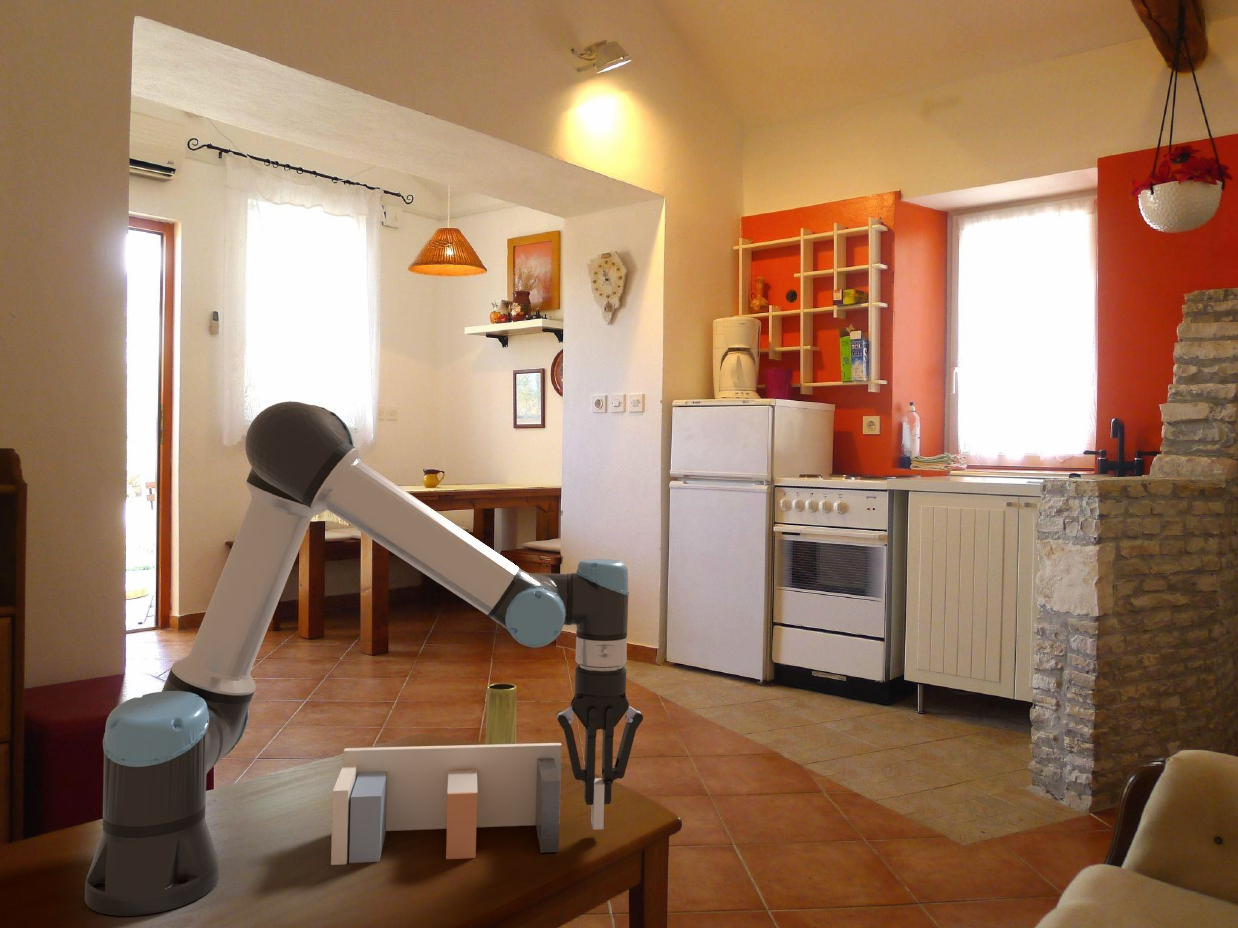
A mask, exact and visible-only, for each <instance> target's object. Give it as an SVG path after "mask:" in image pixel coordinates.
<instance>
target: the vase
mask: <svg viewBox="0 0 1238 928" xmlns="http://www.w3.org/2000/svg"><path fill="white" fill-rule="evenodd" d="M517 687H518V686H517V685H516V684H515V683H514V684H513V683H509V682H495V683H491V684H488V685H487V687H486V714H485V715H486V717H485V718H486V720H485V721H486V722H485V724H486V725H485V739H484V741H485V742H484V745H496V744H517V689H518V688H517Z"/></svg>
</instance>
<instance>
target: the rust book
mask: <svg viewBox="0 0 1238 928" xmlns="http://www.w3.org/2000/svg"><path fill="white" fill-rule="evenodd" d="M447 795H448V805H447V829H446V847H445V848H446V849H445V851H446V853H445V859H446V860H457V859H458V860H459V859H476V856H477V855H476V852H477V827H476V819H477V770H476V769H471V770H449V775H448V793H447Z"/></svg>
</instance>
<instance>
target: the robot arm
mask: <svg viewBox="0 0 1238 928" xmlns="http://www.w3.org/2000/svg"><path fill="white" fill-rule="evenodd" d="M244 448H245V454H246V458H247V460H248V463H249V464H250V466H251V468H250V471H249V473H248V476H247V478H246V481H245V484H246V486H247V488H248V491H249V493H250V495H251V499H250V501H249V504H248V507H247V510H246V511H245V515H244V517H243V518H242V521H241V524H240V526H239V528H238V532H237V534H236V537H235V539H234V541H233V544H232V546H231V549H230V551H229V554H228V556H227V559H226V562H225V564H224V567H223V569H222V572H221V574H220V576H219V579H218V582H217V584H216V586H215V590H214V592H213V593H212V596H211V599H210V601H209V603H208V607H207V609H206V611H205V614H204V616H203V619H202V622H201V624H200V626H199V629H198V631H197V634H196V636H195V639H194V642H193V643H192V645H191V649H190V652H189V653H188V655H187V656H185V657H183V658H181V659H179V660H176V661H174V663H172V665H171V667H170V670H169V672H168V675H167V678H166V680H165V682H164V684H163V687H162V690H161V691H156V692H150V693H145V694H142V696H141V697H140V696H139V697H137V696H136V697H132V698H129V699H127V700H126V701H123V702H122V703H120V704H119V705H117V706H116V707H114V709H112V710H111V712H110V713H109V715H108V716H107V718H106V723H105V730H104V731H105V732H104V733H103V738H102V748H103V779H102V780H103V785H102V788H103V789H102V790H103V791H102V796H103V797H102V833H101V837H100V840H99V842H98V845H97V847H96V850H95V854H94V856H93V859H92V861H91V865H90V867H89V869H88V873H87V875H86V877H85V881H84V904H86V906H87V907H88V908H89V909H91V911H94V912H96V913H99V914H104V915H110V916H117V917H118V916H120V917H125V916H126V917H129V916H130V917H131V916H143V915H150V914H157V913H160V912H161V913H162V912H166V911H170V910H173V909H177V908H179V907H182V906H186V905H188V904H190V903H192V902H195V901H197V900H199V899H201V898H202V897H204V896H205V895H208V893H209V892H211V891H212V890H213V889H214V888H215V887H216V885H217V884H218V882H219V877H220V875H219V874H220V873H219V872H220V860H219V857H218V854H217V851H216V848H215V845H214V841H213V839H212V836H211V833H210V831H209V827H208V824H207V821H206V820H207V819H206V807H207V806H206V803H207V802H206V801H207V797H206V795H207V775H208V773H209V772H210V771H211V770H212V769H213V768H214V767H215V765H216V764H218V762H219V761H221V759H223V758H224V757H226V756H227V755H228V754H230V753H231V752H232V751H233V750H234V748H235V747H236V745H238V744H239V742H240V741H241V739H242V738H243V735H244V733H245V731H246V729H247V726H248V722H249V716H250V705H251V702H252V699H253V696H254V693H255V691H256V688H257V685H256V681H255V680H254V678H253V676H252V675H251V672H252V669H253V667H254V664H255V661H256V659H257V656H258V655H259V652H260V650H261V647H262V645H263V641H264V639H265V637H266V634H267V631H268V629H269V626H270V625H271V621H272V619H273V616H274V614H275V611H276V609H277V606H278V603H279V601H280V599H281V596H282V594H283V591H284V589H285V587H286V584H287V581H288V579H289V576H290V574H291V571H292V569H293V566H294V564H295V561H296V559H297V556H298V553H299V551H300V548H301V546H302V543H303V541H304V539H305V536H306V535H307V531H308V528H309V526H310V523H311V521H312V519H313V518H314V517H316V516H318V515H320V514H322V513H324V512H327V511H328V512H330V513H331V514H333V515H335V516H336V517H338V518H339V519H341V520H342V521H343V522H345V523H346V524H349V525H350V526H351V527H353V528H354V529H356V530H357V531H359V532H360V533H362V534H363V535H365V536H366V537H369V538H370V539H371V540H373V541H374V542H376V543H378V544H379V545H380V546H382V547H384V549H386V550H387V551H389V552H391V553H392V554H394V555H396V556H397V557H398V558H400V559H402V560H403V561H404V562H406V563H407V564H409V565H411V566H412V567H413V568H415V569H416V570H418V571H420V572H422V574H424V575H426V576H427V577H429V578H430V579H432V580H433V581H435V582H436V583H438V584H439V585H441V586H443V587H444V588H446V589H447V590H448V591H450V592H452V593H453V594H455V595H456V596H458V597H459V598H461V599H463V600H464V601H466V602H467V603H468V604H470V605H472V606H473V607H474V608H476V609H478V610H479V611H480V612H482V613H483V614H485V615H486V616H487V617H489V618H490V619H492V621H495V623H498V624H499V625H500V626H502V627H503V628H505V629H506V630H507V631H508V633H509V634H510V635H511V637H512V638H513V639H514V640H515V641H517V642H518V643H519V644H520V645H523V646H525V647H528V648H541V647H545V646H547V645H549V644H550V643H552V642H554V641H556V639H557V638H559V636H560V634H561V632H562V631H563V628H564V626H573V625H575V627H576V631H575V632H576V636H575V637H576V638H575V662H576V663H577V664H578V665H577V666H576V667H575V669H574V671H575V672H574V677H575V678H574V695H573V698H572V700H571V701H570V702H571V703H570V705H569V707H567V708H566V709H564V710H563V711H562V710H559V711H557V712H556V714H555V716H556V719H557V722H558V723H559V725H560V727H561V728H562V730H563V733H564V738H565V742H566V748H567V751H568V752H567V753H568V757H569V762H570V764H571V765H570V767H571V771H572V774H573V776H574V779H575V780H577V781H583V783H584V792H583V796H584V802H585V803H586V806H590V824H591V827H592V829H593V830H604V822H605V821H604V819H605V818H604V815H605V814H604V813H605V805H610V804H611V802H612V784H613V782H614V781H615V780H618V779H623V778H624V777H625V774H626V771H627V767H628V762H629V759H630V755H631V751H632V747H633V743H634V739H635V735H636V733H637V729H638V728H639V727H640V725H641V723H642V722H643V720H644V715H643V714H642V713H641V711H640V710H639V709H635V708H633V707H632V706H630V703H629V699H627V669H626V667H625V666H624V665H626V663H627V662H628V660H627V659H628V658H627V651H628V649H627V648H628V642H627V641H628V621H629V619H628V616H629V615H628V614H629V595H630V592H629V572H628V571H629V570H628V566H627V565H626V564H625V563H624V562H623V561H620V560H617V559H607V558H605V559H604V558H594V559H591V558H590V559H587V558H586V559H583V560H580V561H579V562H578V564H577V569H576V572H571V573H546V572H545V573H541V572H539V573H538V572H537V573H536V572H526V571H525V570H523V569H521V568H520V567H519V566H517V565H515V564H514V563H513V562H511V561H510V560H508V559H507V558H505V557H504V556H503V555H501V554H499V553H498V552H496V551H495V550H493V549H492V548H491V547H489V546H487V545H486V544H485V543H483V542H482V541H480V540H479V539H477V538H475V537H474V536H473V535H471V534H470V533H469V532H467V531H466V530H464V529H463V528H461V527H460V526H459V525H457V524H455V523H453V522H452V521H451V520H449V519H447V518H446V517H444V515H441V514H440V513H439V512H437V511H436V510H434V509H432V508H431V507H430V506H428V505H427V504H425V503H424V502H422V501H421V500H419V499H418V498H416V497H415V496H414V495H412V494H411V493H409V492H407V491H406V490H405V489H403V488H402V487H400V486H398V485H397V484H396V483H394V482H393V481H391V480H390V479H389V478H387V477H385V476H384V475H383V474H381V473H379V472H378V471H377V470H375V469H374V468H372V467H370V466H369V465H367V464H366V463H365V462H363V461H362V459H361V458H360V453H359V449H358V448H357V447H356V446H355V444H354V439H353V434H352V432H351V430H350V428H349V426H348V425H347V424H346V422H344V420H343V419H342V418H341V417H340V416H338V414H336V413H335V412H334V411H331V410H328V409H327V408H326V407H321V406H319V405H316V404H308V403H304V402H300V401H281V402H278V403H275V404H272V405H270V406H267V407H266V408H264V409H263V410H261V411H260V412H259V413H258V414H257V415H256V416H255V418H254V419H253V420H252V422H251V423H250V425H249V427H248V429H247V432H246V435H245V447H244ZM574 715H575V716H576V717H577V718H578V720H579V721H580V723H581V725H583V727H584V732H585V739H584V740H585V742H584V743H585V744H584V745H585V746H584V748H585V749H584V769H583V768H582V765H581V762H580V757H579V752H578V749H577V744H576V739H575V734H574V731H573V728H572V725H573V724H574ZM624 716H625V718H624V719H625V721H626V722H625V724H624V728H623V733H622V736H621V739H620V744H619V747H618V751H617V755H616V759H615V763H614V762H613V761H614V760H613V759H614V757H613V756H614V737H615V727H616V726H618V724H619V722H620V721H621V720H622V718H623V717H624ZM598 730H601V731H602V743H601V745H602V746H601V748H602V750H601V754H602V755H601V777H599V778H596V777H595V775H596V774H595V773H596V751H597V750H596V746H597V744H596V743H597V731H598ZM613 763H614V764H613ZM613 765H614V767H613Z"/></svg>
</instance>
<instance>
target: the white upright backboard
mask: <svg viewBox="0 0 1238 928" xmlns="http://www.w3.org/2000/svg"><path fill="white" fill-rule="evenodd" d="M562 745H563V744H562V742H547V743H546V742H545V743H544V742H542V743H541V742H539V743H516V744H496V745H485V744H467V745H466V744H464V745H463V744H461V745H457V744H456V745H427V746H426V745H424V746H418V745H417V746H383V747H382V746H381V747H346V748H344V750H343V762H342V763H343V764H342V767H341V770H340V772H339V775H338V776H337V779H336V782H335V785H334V786H333V788H332V809H331V811H332V814H331V816H332V817H331V823H332V824H331V847H330V848H331V849H330V850H331V853H330V854H331V855H330V859H331V860H330V866H336V865H337V866H338V865H339V866H340V865H347V864H348V862H349V849H350V808H351V795H352V792H353V789H354V786H355V783H356V780H357V777H358V774H359V772H387V801H386V832H392V831H393V832H394V831H395V832H396V831H417V830H418V831H420V830H443V829H445V830H447V805H448V795H447V793H448V775H449V770H471V769H476V770H477V819H476V828H494V827H499V828H500V827H519V826H520V827H521V826H522V827H524V826H536V787H537V759H542V758H554V761H555V764H556V768H557V771H558V775H559V778H560V793H561V792H562V791H561V789H562V787H561V786H562V785H561V783H562V782H561V781H562V748H563V747H562ZM560 820H561V814H560V815H559V825H560V824H561V823H560V822H561V821H560Z"/></svg>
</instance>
